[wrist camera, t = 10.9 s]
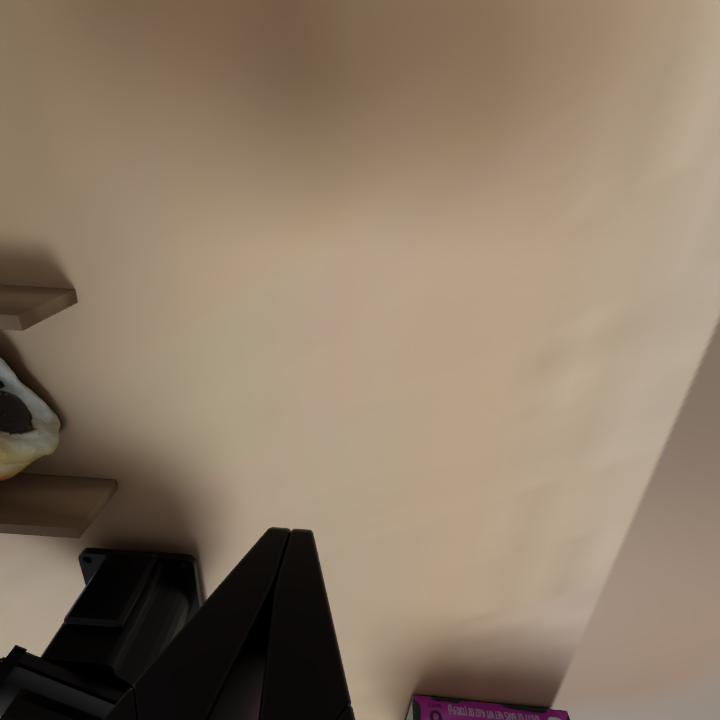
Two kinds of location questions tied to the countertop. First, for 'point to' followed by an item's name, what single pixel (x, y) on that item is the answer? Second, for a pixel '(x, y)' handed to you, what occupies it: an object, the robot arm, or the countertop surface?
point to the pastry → (23, 425)
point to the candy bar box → (476, 710)
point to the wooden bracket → (43, 492)
